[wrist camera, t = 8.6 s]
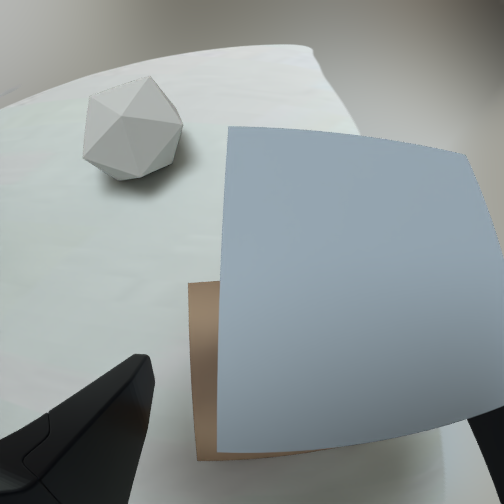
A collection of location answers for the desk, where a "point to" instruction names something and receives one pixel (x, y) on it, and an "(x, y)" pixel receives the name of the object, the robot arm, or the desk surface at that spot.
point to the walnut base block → (210, 373)
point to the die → (131, 130)
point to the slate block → (353, 292)
